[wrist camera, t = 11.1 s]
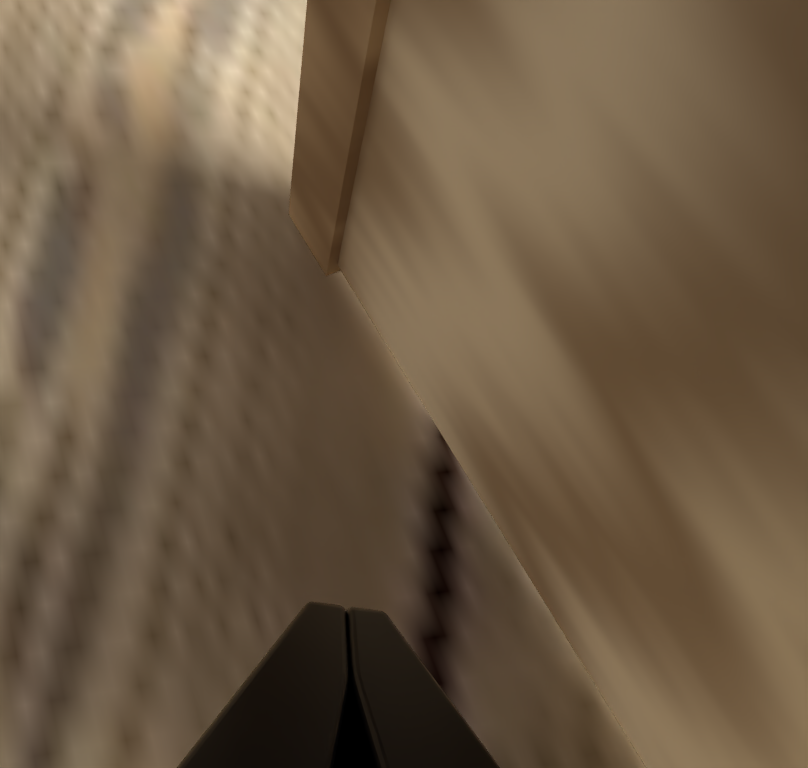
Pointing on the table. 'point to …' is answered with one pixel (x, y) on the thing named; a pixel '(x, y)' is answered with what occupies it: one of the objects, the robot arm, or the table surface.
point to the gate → (598, 318)
